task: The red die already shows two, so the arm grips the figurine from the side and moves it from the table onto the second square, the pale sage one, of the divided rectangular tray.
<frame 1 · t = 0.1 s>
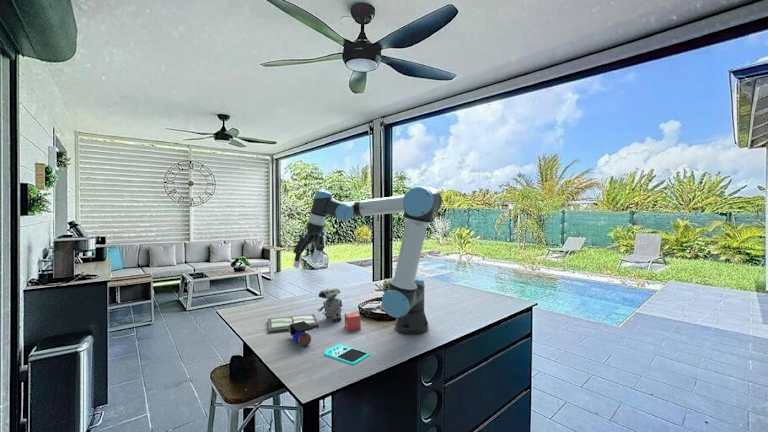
hand: (305, 264, 164), 28 cm above the countertop, tool tilted 20°, fingers open, 13 cm apart
handheld game console: (346, 356, 131), on the countertop
divided rectangular tray: (292, 324, 163), on the countertop
red die: (352, 327, 158), on the countertop
figurine: (329, 320, 169), on the countertop
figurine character: (300, 341, 144), on the countertop
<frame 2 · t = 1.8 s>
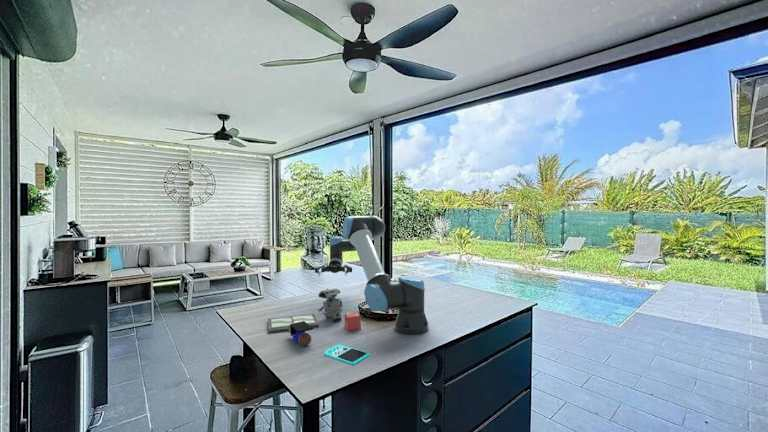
hand: (332, 273, 181), 20 cm above the countertop, tool horizontal, fingers open, 13 cm apart
nothing on the countertop moved.
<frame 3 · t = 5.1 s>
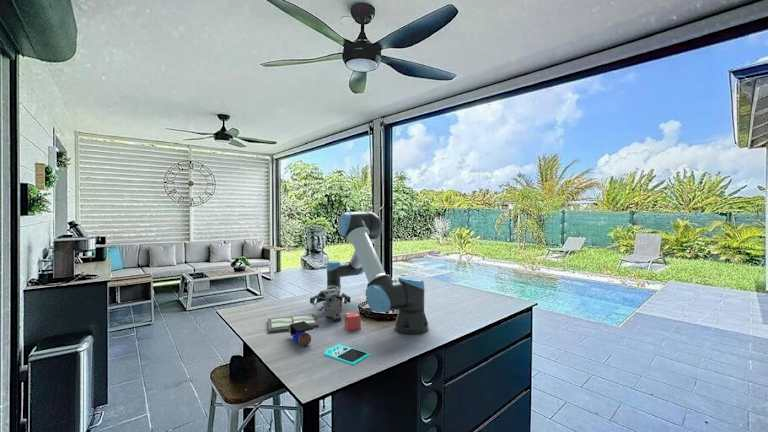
hand: (328, 304, 167), 8 cm above the countertop, tool horizontal, fingers open, 13 cm apart
figurine: (329, 320, 169), on the countertop, touching gripper
everything else where it was.
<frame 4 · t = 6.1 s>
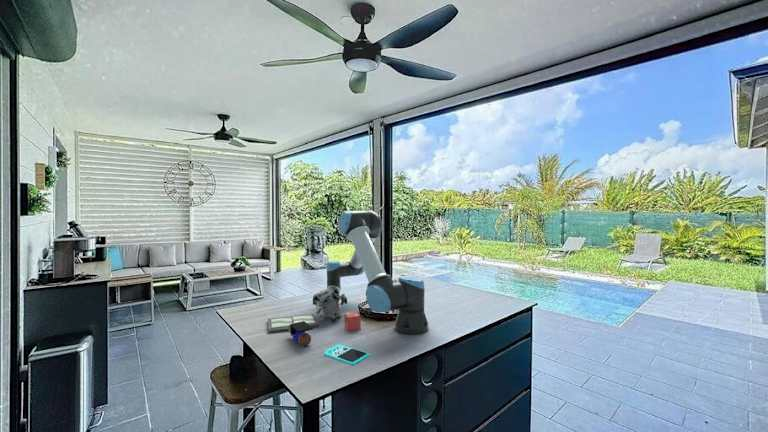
hand: (328, 306, 164), 8 cm above the countertop, tool horizontal, fingers closed on figurine, 10 cm apart
figurine: (329, 320, 169), on the countertop, touching gripper
everything else where it was.
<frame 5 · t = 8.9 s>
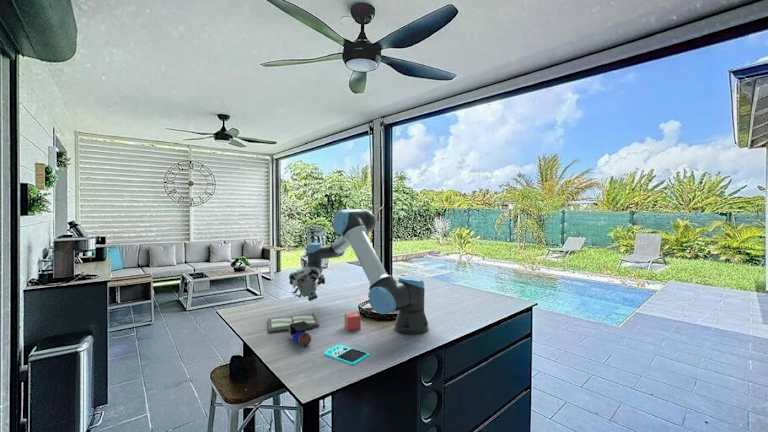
hand: (304, 285, 162), 19 cm above the countertop, tool horizontal, fingers closed on figurine, 10 cm apart
figurine: (306, 299, 167), point 10 cm above the countertop, touching gripper
everything else where it was.
when the fingers open (11 cm above the countertop, at t = 12.0 s): figurine drops 1 cm, resting on divided rectangular tray.
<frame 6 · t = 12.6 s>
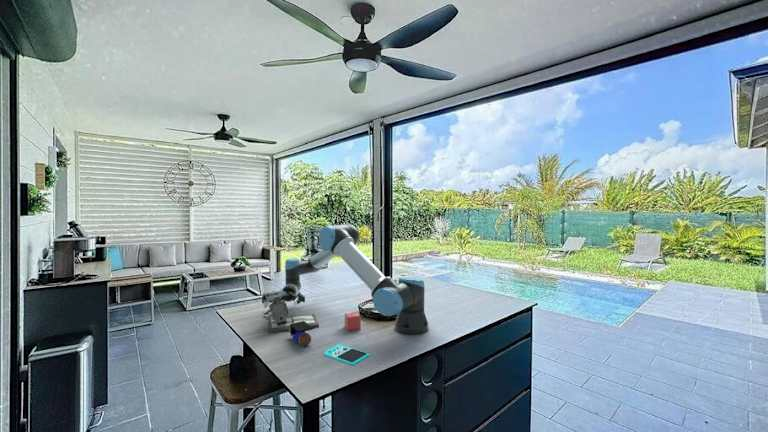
hand: (279, 304, 158), 11 cm above the countertop, tool horizontal, fingers open, 13 cm apart
figurine: (276, 323, 160), point 1 cm above the countertop, touching divided rectangular tray, gripper
everything else where it was.
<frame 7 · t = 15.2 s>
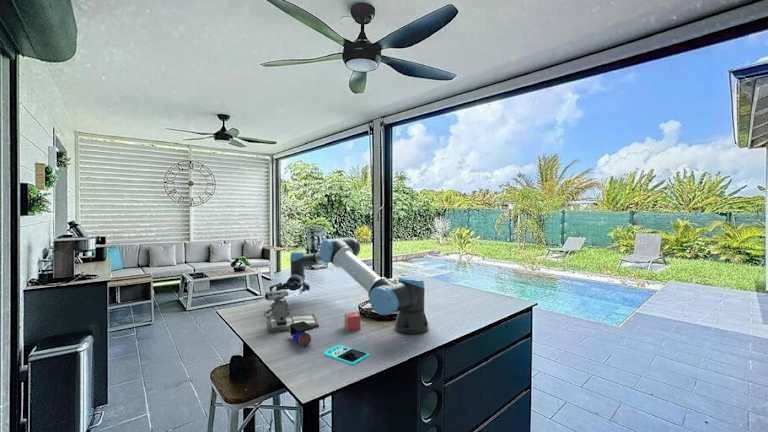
hand: (286, 292, 171), 13 cm above the countertop, tool horizontal, fingers open, 13 cm apart
figurine: (276, 323, 160), point 1 cm above the countertop, touching divided rectangular tray
everything else where it was.
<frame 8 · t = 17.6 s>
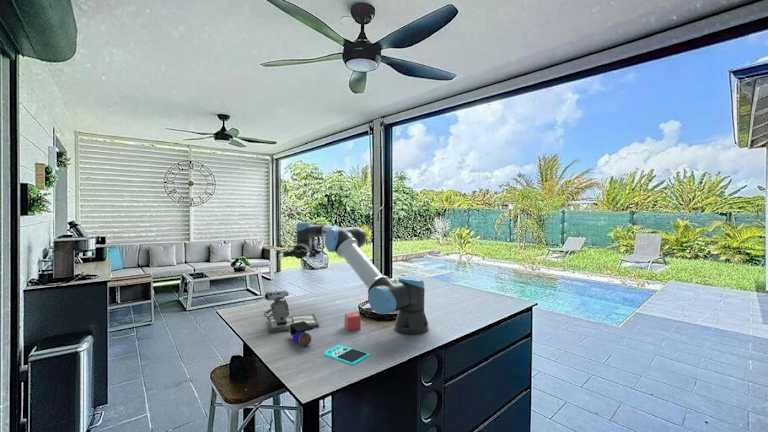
hand: (293, 257, 172), 30 cm above the countertop, tool horizontal, fingers open, 13 cm apart
nothing on the countertop moved.
at the end: figurine inside the target area (2.4 cm from its centre), point 1.3 cm above the countertop; figurine tilted 0°; the gripper is holding nothing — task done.
